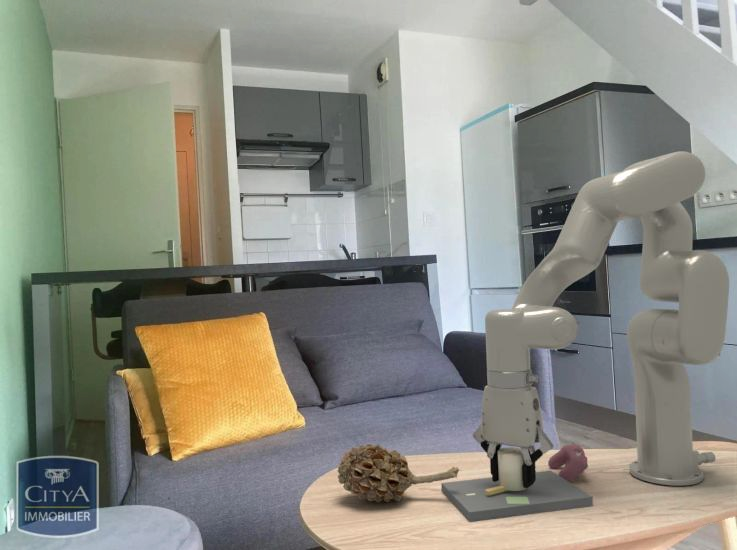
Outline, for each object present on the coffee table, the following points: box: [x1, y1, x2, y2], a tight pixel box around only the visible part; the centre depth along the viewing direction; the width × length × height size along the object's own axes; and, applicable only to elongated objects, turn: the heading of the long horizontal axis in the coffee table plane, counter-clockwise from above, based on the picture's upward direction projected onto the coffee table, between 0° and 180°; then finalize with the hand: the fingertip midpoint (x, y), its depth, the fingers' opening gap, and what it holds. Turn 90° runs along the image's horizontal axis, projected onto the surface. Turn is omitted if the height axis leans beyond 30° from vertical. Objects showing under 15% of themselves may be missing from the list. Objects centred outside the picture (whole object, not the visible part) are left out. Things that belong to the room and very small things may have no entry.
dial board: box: [440, 470, 594, 522], centre depth 103 cm, size 22×14×2 cm, turn 101°
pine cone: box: [337, 443, 462, 503], centre depth 105 cm, size 22×10×10 cm, turn 89°
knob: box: [485, 446, 527, 496], centre depth 103 cm, size 8×5×7 cm, turn 118°
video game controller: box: [547, 442, 589, 483], centre depth 114 cm, size 10×5×7 cm, turn 175°
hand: (513, 481), depth 103 cm, fingers closed on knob, 5 cm apart
